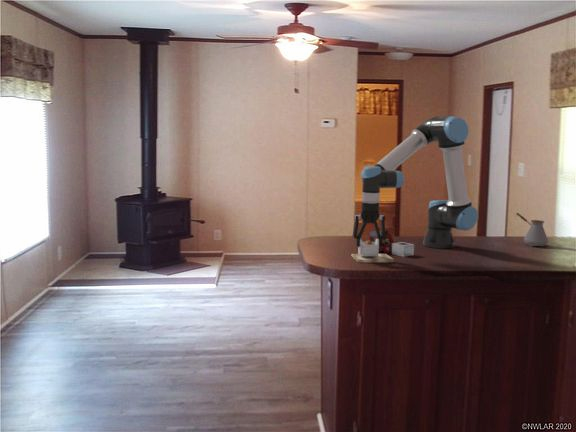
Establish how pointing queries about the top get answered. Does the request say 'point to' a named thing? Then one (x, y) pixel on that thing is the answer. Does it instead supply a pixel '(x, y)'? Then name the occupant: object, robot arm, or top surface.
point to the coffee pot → (535, 233)
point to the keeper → (372, 257)
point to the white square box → (370, 249)
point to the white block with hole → (403, 249)
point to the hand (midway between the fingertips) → (368, 253)
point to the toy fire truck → (384, 245)
